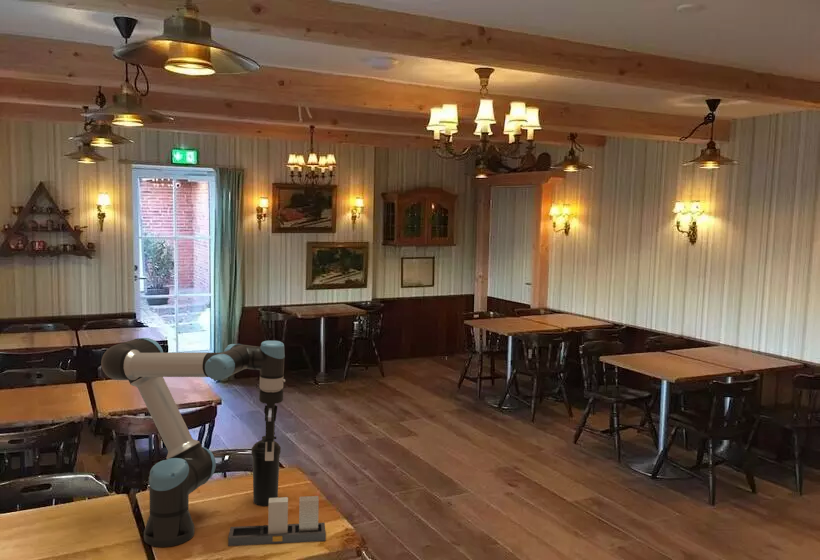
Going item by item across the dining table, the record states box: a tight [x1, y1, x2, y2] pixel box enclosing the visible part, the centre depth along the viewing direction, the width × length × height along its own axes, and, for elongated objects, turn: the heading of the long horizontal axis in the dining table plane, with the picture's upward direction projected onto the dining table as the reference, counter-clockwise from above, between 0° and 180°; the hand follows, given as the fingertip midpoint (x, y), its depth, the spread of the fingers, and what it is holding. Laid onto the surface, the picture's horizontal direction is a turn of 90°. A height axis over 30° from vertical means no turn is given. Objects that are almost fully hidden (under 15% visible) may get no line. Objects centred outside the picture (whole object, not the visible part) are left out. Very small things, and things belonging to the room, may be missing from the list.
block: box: [267, 496, 289, 534], centre depth 213 cm, size 6×4×12 cm, turn 100°
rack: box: [227, 495, 327, 547], centre depth 213 cm, size 30×8×13 cm, turn 100°
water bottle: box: [251, 435, 282, 507], centre depth 239 cm, size 10×10×23 cm
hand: (269, 459), depth 217 cm, fingers closed
